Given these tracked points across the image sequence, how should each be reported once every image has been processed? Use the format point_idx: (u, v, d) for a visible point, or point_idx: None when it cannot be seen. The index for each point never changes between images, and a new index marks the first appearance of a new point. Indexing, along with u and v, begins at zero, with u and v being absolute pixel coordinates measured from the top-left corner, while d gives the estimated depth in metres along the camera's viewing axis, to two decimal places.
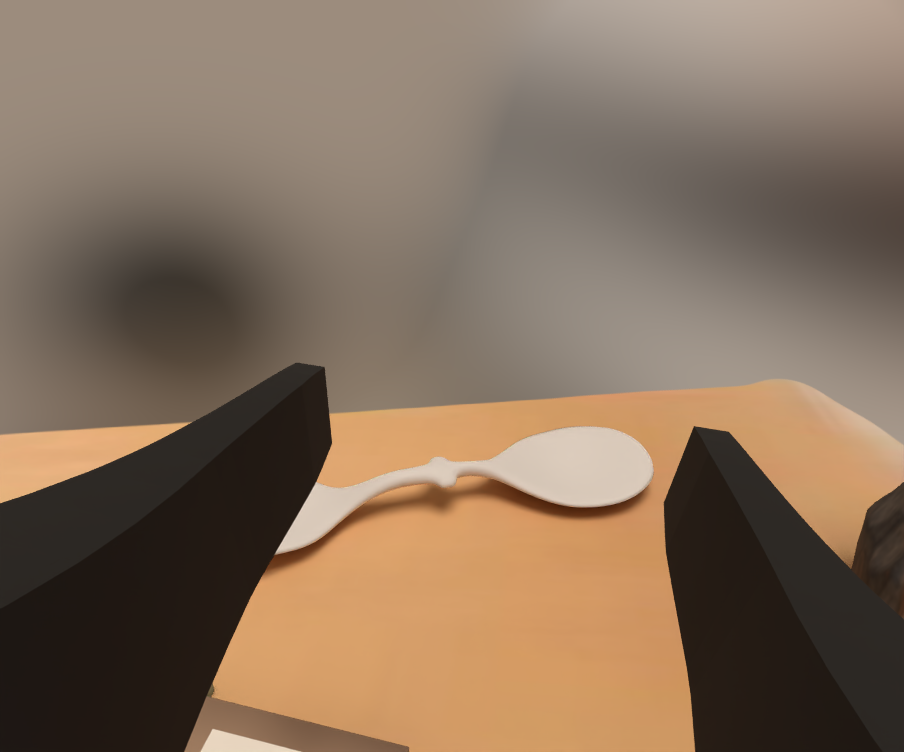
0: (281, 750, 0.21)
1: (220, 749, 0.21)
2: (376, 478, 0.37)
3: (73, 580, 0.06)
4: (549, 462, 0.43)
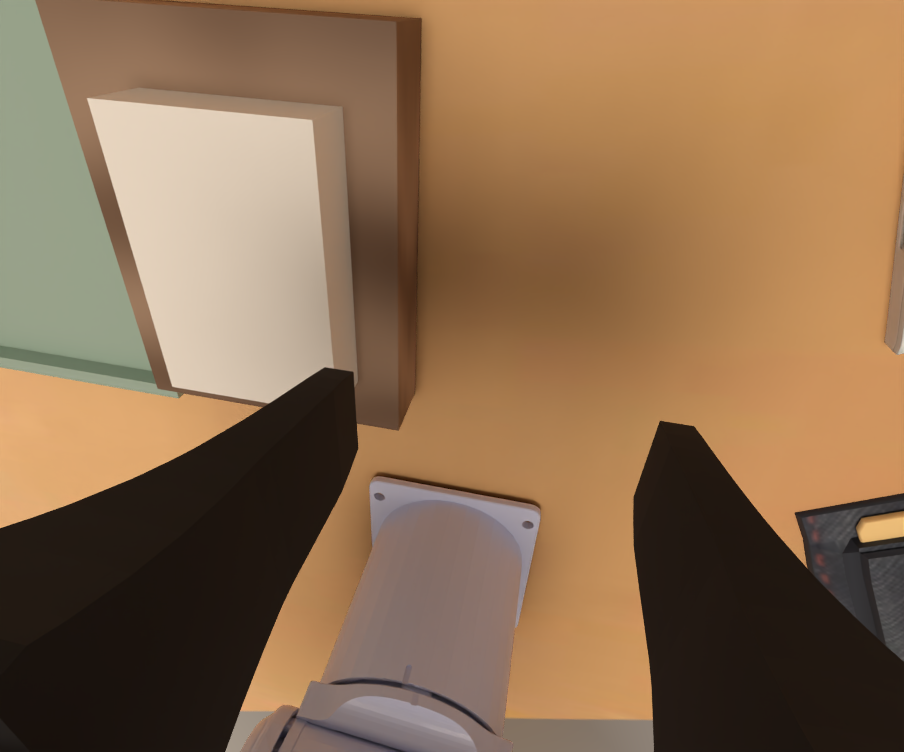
0: (195, 113, 0.14)
1: (118, 126, 0.14)
2: None
3: (127, 593, 0.05)
4: None
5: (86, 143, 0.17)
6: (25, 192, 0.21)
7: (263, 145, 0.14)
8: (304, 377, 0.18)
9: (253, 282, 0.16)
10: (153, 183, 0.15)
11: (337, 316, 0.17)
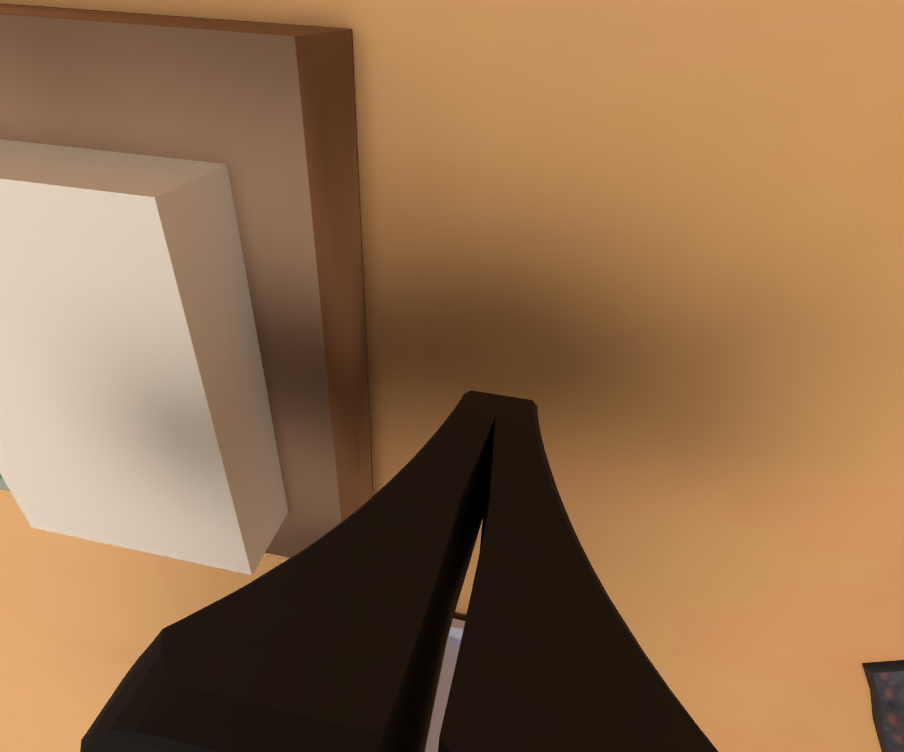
0: None
1: None
2: None
3: (414, 658, 0.05)
4: None
5: None
6: None
7: (87, 232, 0.09)
8: (200, 530, 0.13)
9: (110, 414, 0.11)
10: None
11: (240, 453, 0.12)
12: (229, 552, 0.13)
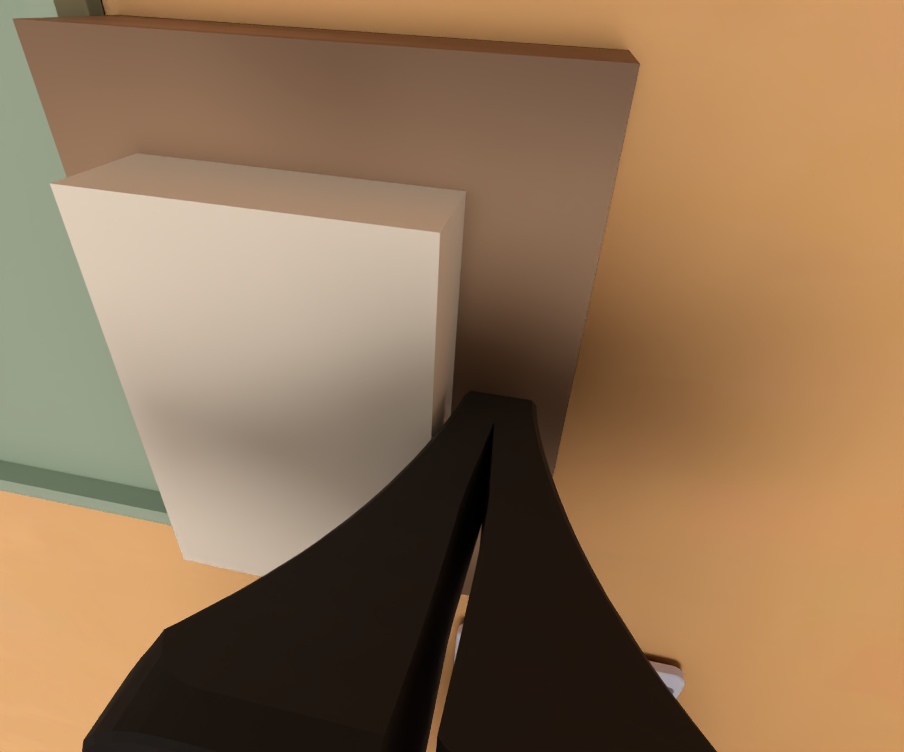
0: (233, 214, 0.08)
1: (102, 228, 0.09)
2: None
3: (416, 659, 0.05)
4: None
5: None
6: (10, 281, 0.15)
7: (347, 267, 0.08)
8: None
9: (312, 450, 0.10)
10: (161, 311, 0.09)
11: None
12: None
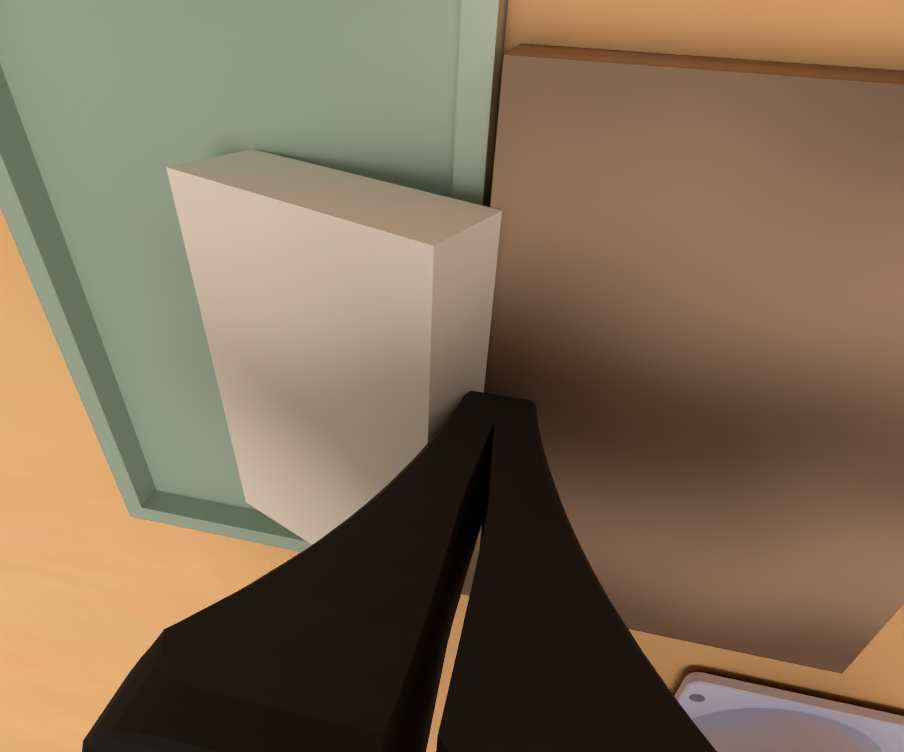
0: (279, 207, 0.09)
1: (196, 208, 0.10)
2: None
3: (416, 659, 0.05)
4: None
5: (494, 289, 0.10)
6: None
7: (360, 267, 0.09)
8: None
9: (335, 431, 0.11)
10: (232, 283, 0.11)
11: None
12: None
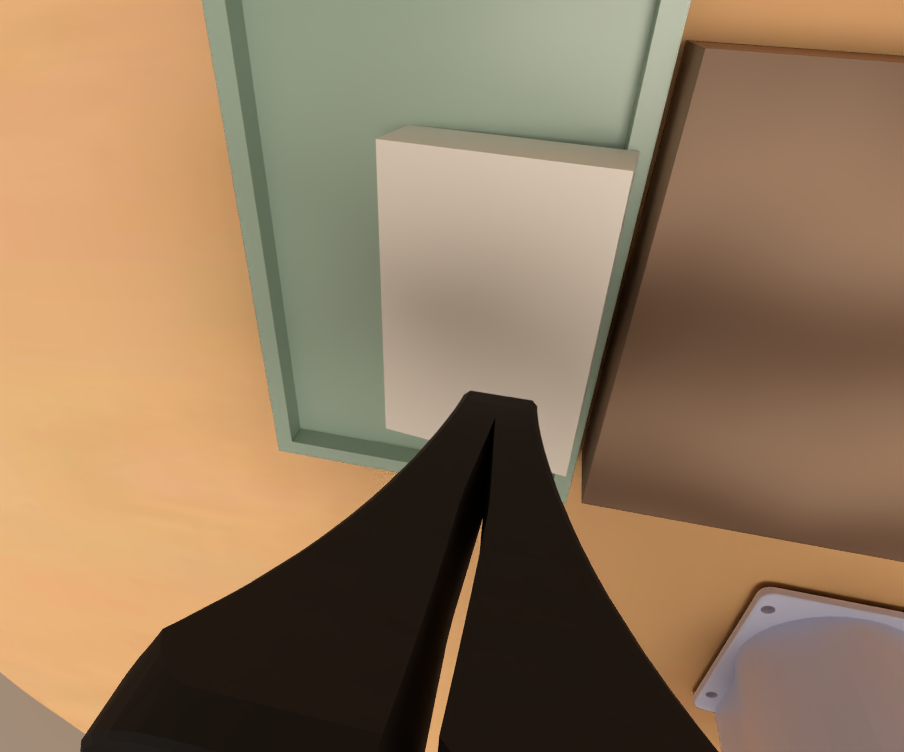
0: (493, 159, 0.12)
1: (402, 169, 0.13)
2: None
3: (414, 658, 0.05)
4: None
5: (664, 231, 0.13)
6: None
7: (564, 195, 0.12)
8: None
9: (508, 334, 0.15)
10: (424, 227, 0.14)
11: None
12: (555, 455, 0.16)
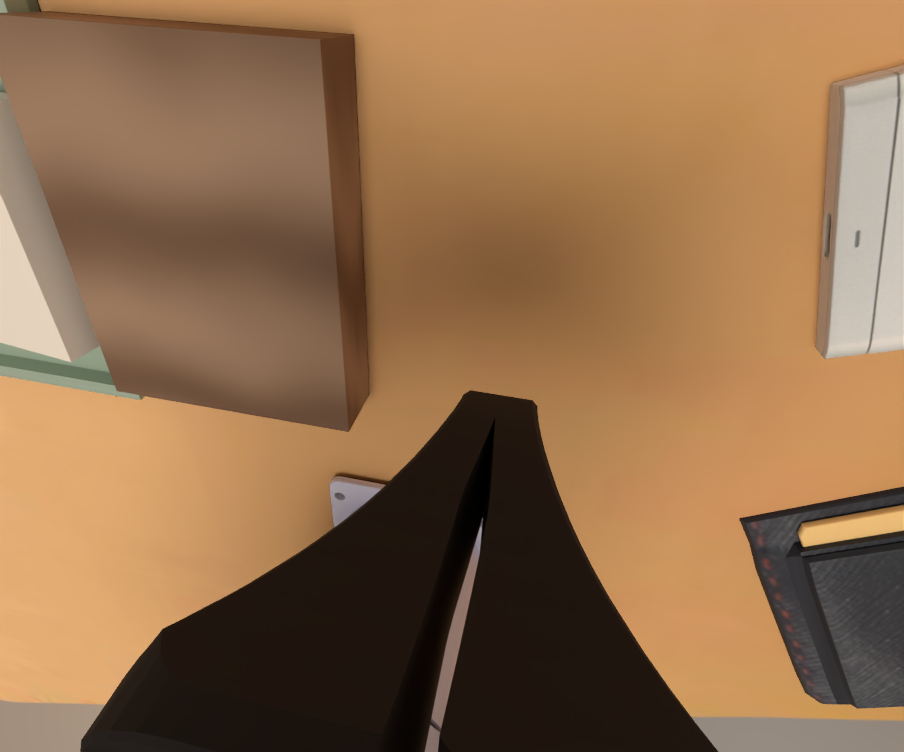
0: None
1: None
2: None
3: (414, 658, 0.05)
4: None
5: (35, 154, 0.17)
6: None
7: None
8: (37, 326, 0.21)
9: None
10: None
11: (52, 274, 0.20)
12: (56, 343, 0.21)
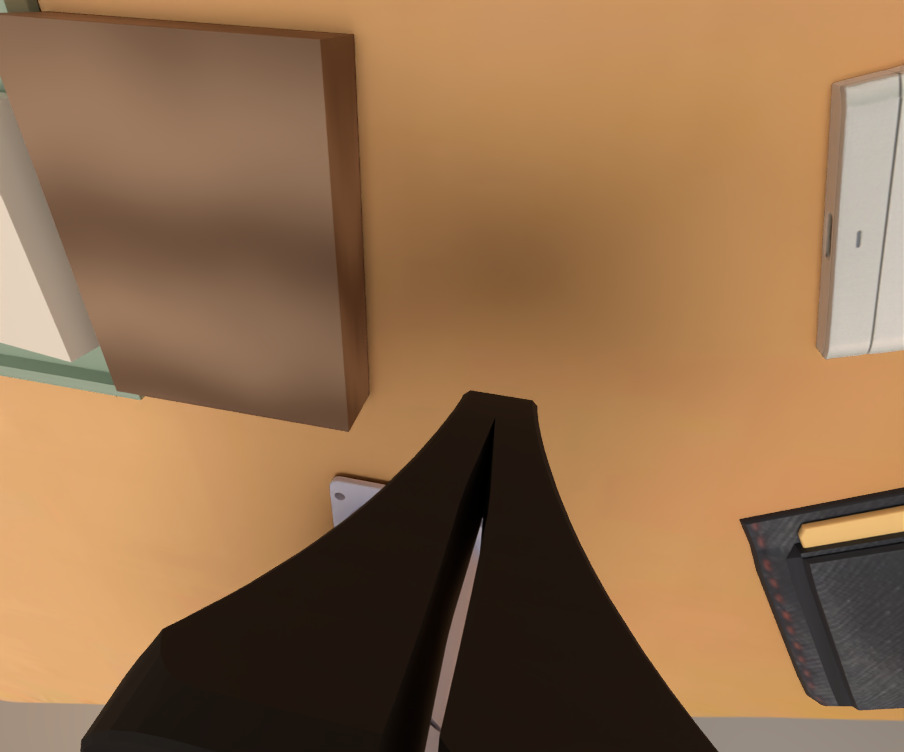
0: None
1: None
2: None
3: (414, 658, 0.05)
4: None
5: (35, 154, 0.17)
6: None
7: None
8: (37, 326, 0.21)
9: None
10: None
11: (52, 274, 0.20)
12: (56, 343, 0.21)
